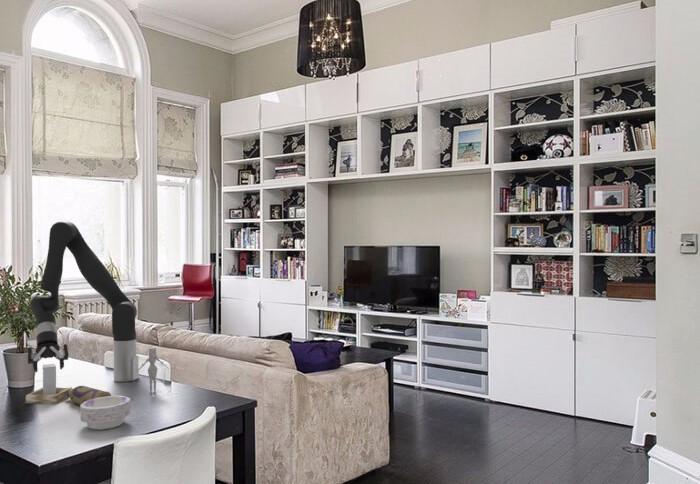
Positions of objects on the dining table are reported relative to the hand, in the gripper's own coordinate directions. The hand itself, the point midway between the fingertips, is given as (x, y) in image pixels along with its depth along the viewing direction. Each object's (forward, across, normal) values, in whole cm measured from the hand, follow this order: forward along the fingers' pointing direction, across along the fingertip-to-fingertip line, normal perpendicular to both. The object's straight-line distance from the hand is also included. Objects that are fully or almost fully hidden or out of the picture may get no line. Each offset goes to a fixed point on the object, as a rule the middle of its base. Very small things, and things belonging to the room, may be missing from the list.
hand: (49, 369), depth 228 cm
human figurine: (+21, +35, -6) cm, 41 cm away
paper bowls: (+43, +14, -28) cm, 53 cm away
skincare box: (+11, 0, +3) cm, 11 cm away
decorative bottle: (+22, +12, -7) cm, 26 cm away
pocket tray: (+11, 0, +3) cm, 12 cm away
